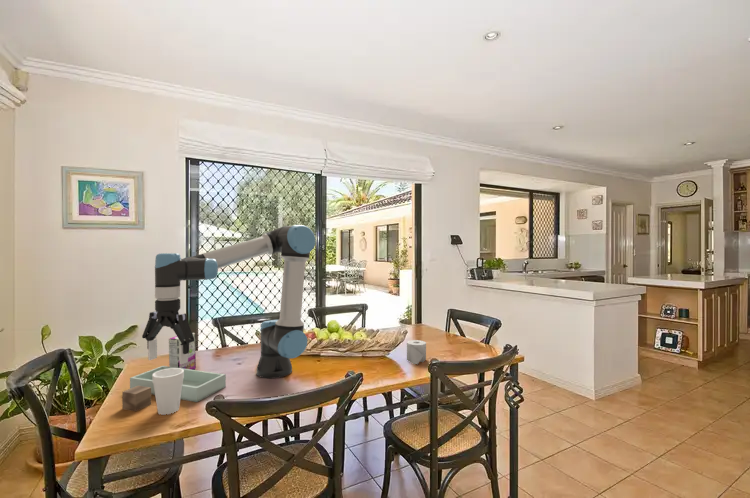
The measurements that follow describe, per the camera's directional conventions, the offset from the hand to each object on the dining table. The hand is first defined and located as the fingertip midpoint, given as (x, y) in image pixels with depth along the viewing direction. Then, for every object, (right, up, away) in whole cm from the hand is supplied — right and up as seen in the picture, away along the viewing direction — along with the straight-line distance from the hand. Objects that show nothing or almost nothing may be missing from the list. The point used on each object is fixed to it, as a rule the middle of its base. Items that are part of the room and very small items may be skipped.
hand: (167, 361), depth 128 cm
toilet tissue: (+91, -17, +55) cm, 108 cm away
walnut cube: (-13, -17, +3) cm, 21 cm away
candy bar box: (-14, -16, +37) cm, 43 cm away
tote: (-6, -16, +19) cm, 26 cm away
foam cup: (0, -17, 0) cm, 17 cm away
